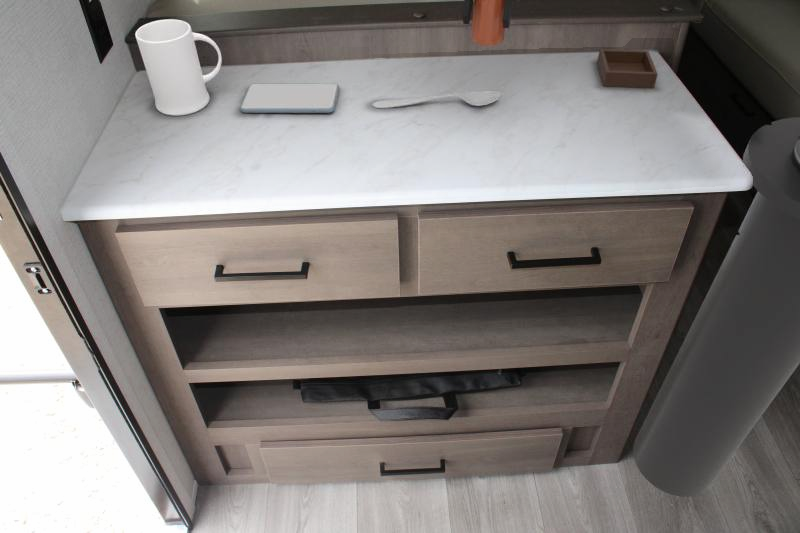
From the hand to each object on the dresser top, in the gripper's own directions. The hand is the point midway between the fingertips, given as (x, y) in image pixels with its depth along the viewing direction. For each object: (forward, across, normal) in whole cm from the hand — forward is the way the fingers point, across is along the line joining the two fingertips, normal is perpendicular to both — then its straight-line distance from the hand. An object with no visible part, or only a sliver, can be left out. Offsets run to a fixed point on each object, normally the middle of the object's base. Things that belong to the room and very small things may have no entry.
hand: (485, 21), depth 81 cm
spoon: (+7, +8, -19) cm, 22 cm away
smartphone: (+10, +31, -16) cm, 36 cm away
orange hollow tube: (0, 0, -5) cm, 5 cm away
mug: (+12, +46, -13) cm, 50 cm away
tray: (-5, -21, -31) cm, 38 cm away
